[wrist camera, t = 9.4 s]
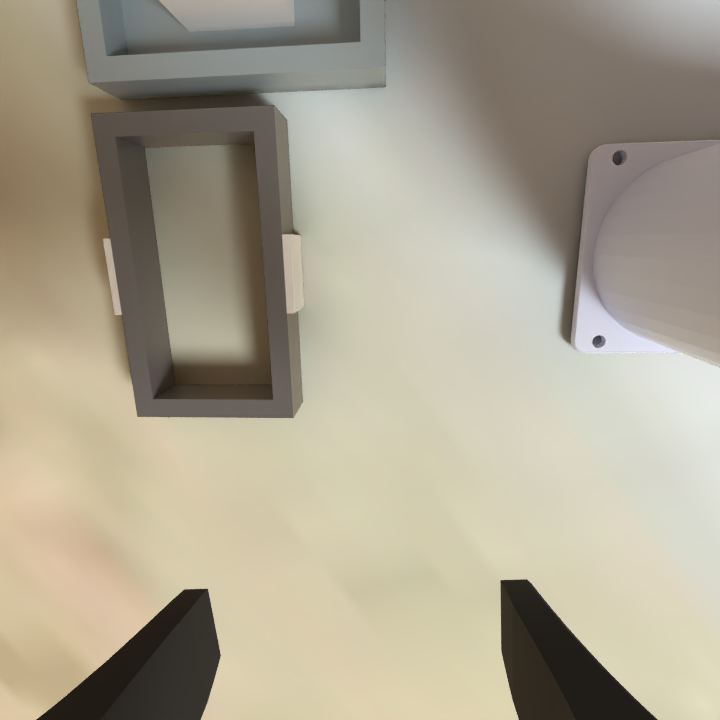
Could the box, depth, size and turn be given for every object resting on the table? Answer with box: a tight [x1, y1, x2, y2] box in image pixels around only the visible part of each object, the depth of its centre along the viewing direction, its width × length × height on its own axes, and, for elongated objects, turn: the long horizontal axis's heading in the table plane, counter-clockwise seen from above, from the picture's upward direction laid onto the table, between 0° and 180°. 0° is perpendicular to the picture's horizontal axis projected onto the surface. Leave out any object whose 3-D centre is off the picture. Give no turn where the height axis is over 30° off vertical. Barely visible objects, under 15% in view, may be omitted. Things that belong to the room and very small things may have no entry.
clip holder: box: [91, 105, 304, 418], centre depth 19 cm, size 7×12×2 cm, turn 1°
